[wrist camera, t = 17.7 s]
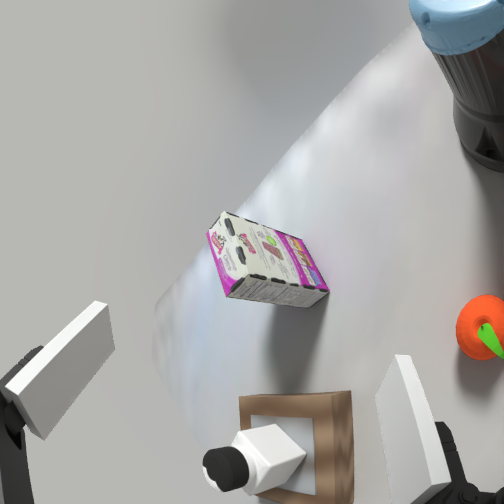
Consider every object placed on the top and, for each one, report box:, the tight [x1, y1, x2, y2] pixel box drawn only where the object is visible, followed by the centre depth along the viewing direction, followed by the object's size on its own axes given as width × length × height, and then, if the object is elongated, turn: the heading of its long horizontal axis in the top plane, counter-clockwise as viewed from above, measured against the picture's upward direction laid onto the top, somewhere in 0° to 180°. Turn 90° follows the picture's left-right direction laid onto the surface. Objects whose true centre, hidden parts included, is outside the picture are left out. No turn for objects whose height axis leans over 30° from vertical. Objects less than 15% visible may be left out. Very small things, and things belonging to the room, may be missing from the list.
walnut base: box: [239, 390, 354, 504], centre depth 39 cm, size 18×18×5 cm
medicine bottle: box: [203, 424, 306, 496], centre depth 33 cm, size 7×7×12 cm
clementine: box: [456, 295, 504, 360], centre depth 24 cm, size 8×7×7 cm
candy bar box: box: [206, 211, 329, 308], centre depth 44 cm, size 11×5×16 cm, turn 27°
